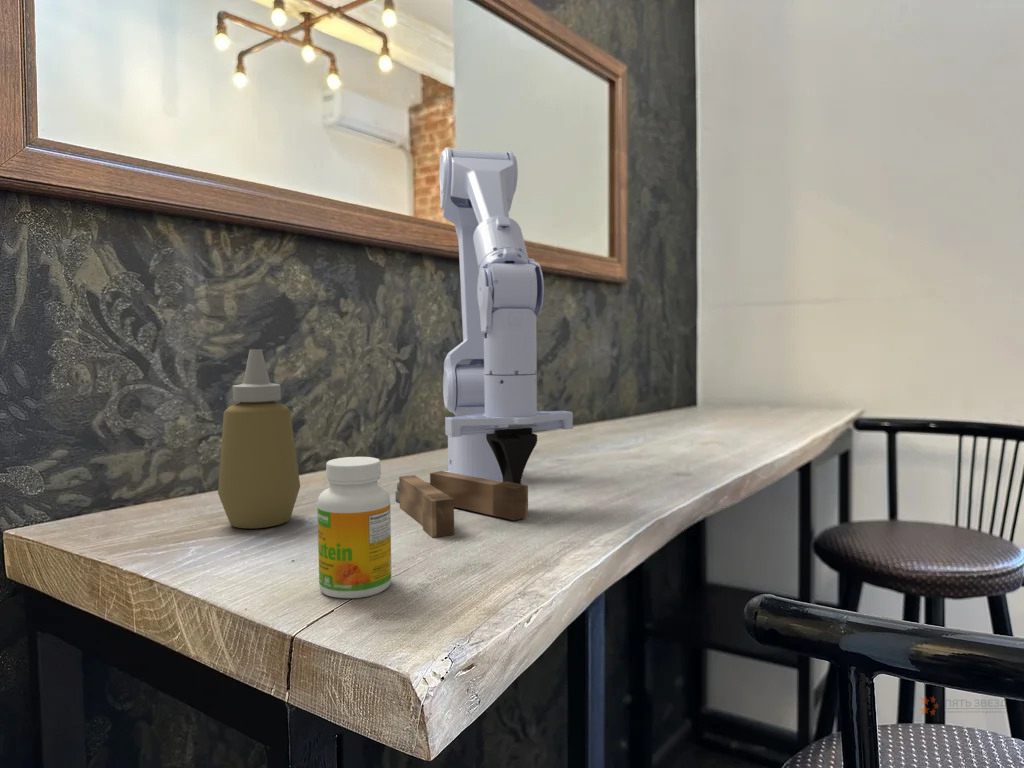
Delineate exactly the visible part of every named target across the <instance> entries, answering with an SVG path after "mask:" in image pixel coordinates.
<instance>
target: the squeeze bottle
mask: <svg viewBox="0 0 1024 768" xmlns="http://www.w3.org/2000/svg"><path fill="white" fill-rule="evenodd" d="M247 355H248V357H247V362H246V367H245V372H244V377H243V382H242V383H241V384H234V385H232V401H233V402H236V403H235V404H233V405H230V406H228V407H227V408H226V409H225V410H224V411H223V418H222V419H223V420H222V431H221V433H222V434H221V445H220V458H219V459H220V460H219V471H218V473H219V474H218V485H217V486H218V487H217V495H218V497H219V501H220V502H221V504H222V507H223V509H224V512H225V514H226V517H227V520H228V523H229V525H230V526H232V527H234V528H240V529H265V528H271V527H275V526H279V525H282V524H285V523H287V522H289V521H290V520H291V518H292V514H293V511H294V509H295V505H296V502H297V498H298V494H299V492H300V488H301V482H300V475H299V467H298V460H297V457H298V456H297V452H296V444H295V443H296V442H295V436H294V429H293V421H292V413H291V409H290V408H289V407H288V406H287V405H286V404H284V403H280V402H277V401H281V400H282V397H281V395H282V392H281V391H282V390H281V389H282V388H281V384H279V383H272V382H271V381H270V376H269V373H268V370H267V365H266V361H265V357H264V353H263V350H262V348H259V349H255V348H254V349H253V348H251V349H249V351H248V354H247Z"/></svg>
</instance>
